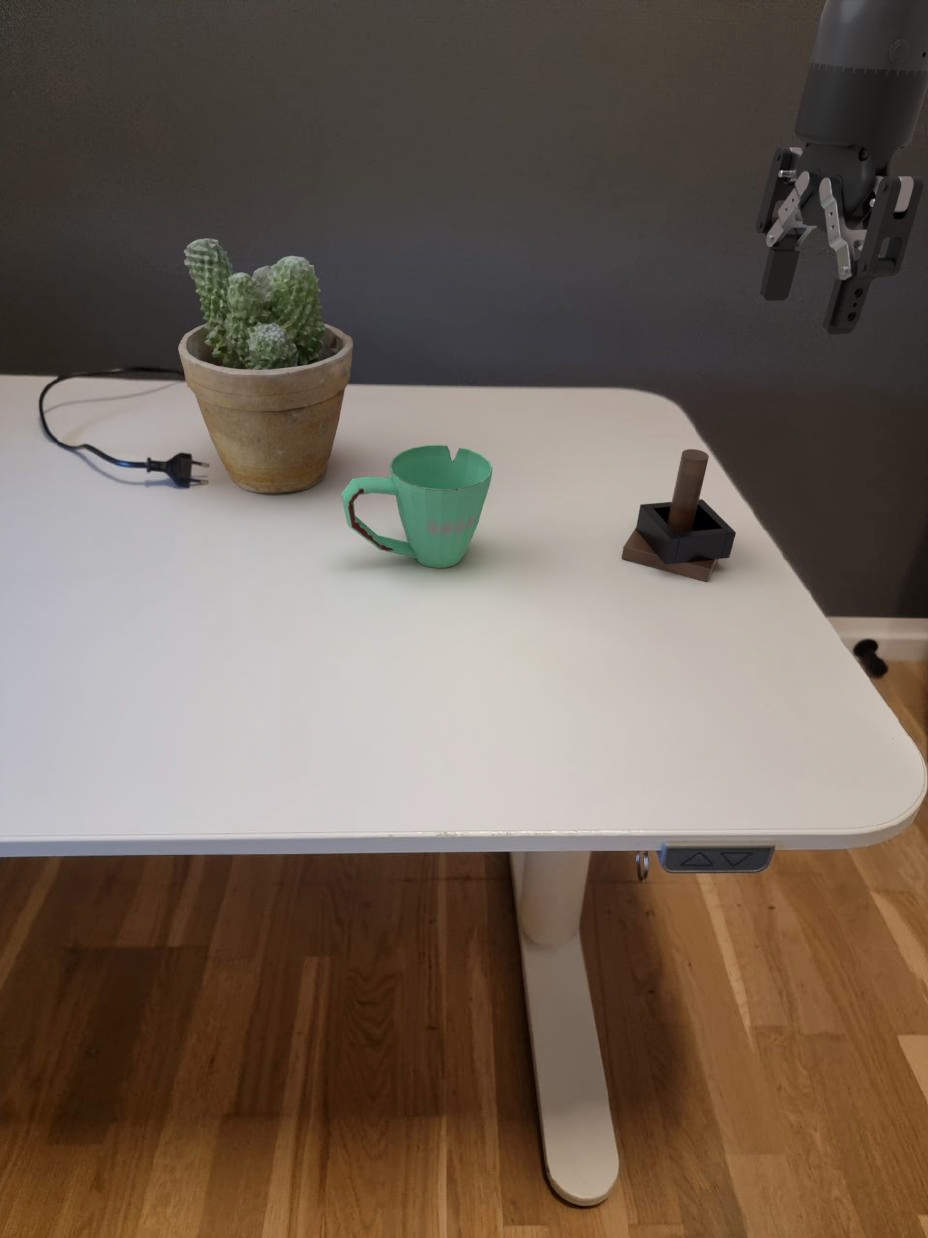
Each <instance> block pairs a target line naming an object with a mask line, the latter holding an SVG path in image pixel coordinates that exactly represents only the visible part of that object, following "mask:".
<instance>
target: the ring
mask: <svg viewBox="0 0 928 1238" xmlns="http://www.w3.org/2000/svg"><path fill="white" fill-rule="evenodd" d="M671 503H672V501H665V502H653V503H643V504H640V505H639V509H638V515H637V520H636V527H635V528H636V530H637V531H638V533H639V534H640V535H641V536H642V537H643V539H644V540H645V541H646V542H647V543H648V545H649V546H650V547H651V548H652V549H653V551H654V552H655V553H656V554H657V555H658V557H659V558H660V559H661V560H662V561H663V563H664V564H665V565H667V564H677V563H686V562H695V561H705V560H714V559H718V560H721V559H730V558H731V557H730V556H731V553H732V550H733V546H734V541H735V539H736V538H735V537H736V535H737V532H736V531H735V530H734V528H732V527H731V526H730V525H729V524H728V522H726V521H725V520H724V519H723V518H722V517H721V516H720V515H719V514H718V513H717V512H716V511H715V510H714V509H713V508H712V507H711V506H710V505H709V504H708V503H707V502H706V501H705V500H704V499H702V498H699V502H698V506H697V511H696V515H695V519H694V524H693V529H694V530H695V531H693V532H682V533H675V532H674V531H673V530H672V529H671V528H670V527H669V526H668V525H667V522H668V517H669V513H670V508H671Z"/></svg>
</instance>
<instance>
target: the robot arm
mask: <svg viewBox="0 0 928 1238" xmlns="http://www.w3.org/2000/svg"><path fill="white" fill-rule="evenodd" d="M927 90H928V0H826V1H825V3H824V6H823V9H822V11H821V16H820V19H819V23H818V27H817V32H816V36H815V41H814V44H813V48H812V53H811V57H810V61H809V66H808V70H807V73H806V78H805V82H804V87H803V90H802V95H801V100H800V104H799V108H798V112H797V117H796V121H795V125H794V135H795V137H796V138H797V139H799V140H800V141H803V142H805V146H804V147H789V146H788V147H778V148H776V149H775V151H774V153H773V157H772V160H771V165H770V168H769V172H768V176H767V180H766V183H765V186H764V187H765V188H764V191H763V195H762V199H761V203H760V207H759V210H758V214H757V219H756V223H755V231H756V233H757V234H764V235H765V244H766V246H767V247H768V248H769V249H768V253H767V258H766V262H765V266H764V271H763V274H762V279H761V287H760V291H759V296H760V298H761V299H763V300H764V301H767V302H775V301H776V302H777V301H778V302H779V301H781V302H782V301H785V300H786V299H788V298H789V296H790V293H791V289H792V285H793V280H794V277H795V273H796V270H797V265H798V261H799V257H800V254H801V250H799V249H797V248H796V247H800V246H801V244H802V243H803V242H804V241H805V239H806V238H807V237H808V235H810V233H811V232H812V231H813V230H814V229H818V230H819V231H820V232H822V233H825V234H827V235H826V236H827V242H828V245H829V247H830V248H831V249H833V250H834V251H835V256H836V263H837V271H838V277H836V278H835V279H834V282H833V287H832V290H831V293H830V297H829V301H828V304H827V308H826V311H825V315H824V318H823V322H822V326H821V328H822V331H823V332H825V333H827V334H829V335H849V334H850V333H852V332H853V331H854V329H855V328H856V327H857V325H858V323H859V321H860V318H861V315H862V312H863V309H864V305H865V302H866V299H867V296H868V292H869V289H870V286H871V284H872V282H873V281H874V280H875V279H879V278H884V277H885V278H886V277H895V276H897V275H898V274H899V273H900V270H901V268H902V264H903V261H904V257H905V253H906V250H907V247H908V243H909V239H910V237H911V234H912V233H911V232H912V229H913V225H914V221H915V218H916V216H917V211H918V208H919V204H920V201H921V198H922V194H923V190H924V186H925V183H924V178H923V177H922V176H909V175H908V176H905V175H902V176H897V175H893V176H892V164H893V158H894V155H895V154H896V153H897V151H899V150H901V149H903V148H905V147H907V146H909V144H910V143H911V141H912V139H913V136H914V132H915V129H916V126H917V122H918V120H919V116H920V113H921V109H922V106H923V103H924V100H925V97H926V93H927ZM780 201H783V203H782V205H781V206H780V207H779V208H778V209H777V211H776V214H777V215H776V216H773V215H774V212H775V208H776V204H777V203H778V202H780ZM860 225H862V229H857V228H859V227H860ZM886 238H889V240H888V244H887V248H886V252H885V255H884V256H880V253H881V249H882V245H883V242H884V240H885V239H886ZM855 249H857V250H859V252H860V253H859V254H860V255H859V259H856V255H855Z"/></svg>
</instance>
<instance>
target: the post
mask: <svg viewBox="0 0 928 1238" xmlns="http://www.w3.org/2000/svg"><path fill="white" fill-rule="evenodd" d="M709 457H710V456H709V454H708V453H707V452H705V451H703V450H700V449H694V448H688V449H684V450H683V451H682V452H681V456H680V461H679V464H678V465H679V466H678V471H677V474H676V480H675V485H674V489H673V495H672V498H671V502H672V503H671V508H670V513H669V517H668V522H667V525H668V526H669V527H670V528H671V529H672V530H673V531H674V532H675V533H682V532H693V531H695V530H694V529H693V524H694V519H695V515H696V511H697V506H698V502H699V499H701V498H700V497H701V494H702V488H703V483H704V479H705V476H706V471H707V466H708V462H709ZM621 559H622V560H625V561H629V562H631V563H632V562H633V563H635V564H639V565H643V566H647V567H650V568H654V569H658V570H662V571H665V572H670V573H672V574H676V575H680V576H684V577H688V578H692V579H695V580H700V581H703V582H707V583H708V582H709V580H710V578H711V575H712V573H713V571H714V569H715V566H716V565H717V562H718V560H719V559H714V560H705V561H695V562H686V563H677V564H667V565H665V564H664V563H663V561H662V560H661V559H660V558H659V557H658V555H657V554H656V553H655V552H654V551H653V549H652V548H651V547H650V546H649V545H648V543H647V542H646V541H645V540H644V539H643V537H642V536H641V535H640V534H639V533H638V531H637V530H636V527H635V528H634V530H633V531H632V533H631V534H630V535H629V537H628V539H627V540H626V542H625V544H624V545H623V548H622V553H621Z"/></svg>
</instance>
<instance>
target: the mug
mask: <svg viewBox="0 0 928 1238" xmlns="http://www.w3.org/2000/svg"><path fill="white" fill-rule="evenodd" d="M389 476H390V477H381V476H380V477H379V476H363V477H353V478H352V479H351V480H350V481H349V483H348V485H346V487H344V489H343V490H342V492H341V493H340V495H341V500H342V505H343V509H344V514H345V518H346V519H345V520H346V525H347V526H348V528H350V529H351V530H352V531H354V532H355V533H357V534H358V535H359V536H360V537H362V538H363V539H365V540H366V541H367V542H369V544H371V545H372V546H374V547H375V548H376V549H378V550H379V551H384V552H387V553H392V554H397V555H400V556H406V557H408V558H412V559H413V558H414V559H415V560H416V561H417V562H418V563H419V564H421V565H422V566H425V567H429V568H433V569H448V568H451V567H454V566H455V565H457V564H459V563H460V562H461V561H462V559H463V557H464V555H465V554H466V551H467V550H468V548H469V546H470V545H471V542H472V540H473V537H474V535H475V532H476V529H477V527H478V525H479V522H480V519H481V516H482V511H483V508H484V504H485V501H486V498H487V495H488V493H489V489H490V485H491V481H492V476H493V466H492V464H491V461H489V460H488V459H487V458H486V457H484V456H483V455H482V454H481V453H479V452H477V451H474V450H472V449H469V448H464V447H459V448H458V450H457V452H456V454H455V457H454V459H452V457H451V451H450V449H449V446H448V445H447V444H428V445H427V444H426V445H420V446H416V447H415V446H414V447H411V448H409V449H405V450H403V451H400V452H399V453H398V454H396V455H395V456H394V457H393V458H392V459H391V462H390V464H389ZM369 494H380V495H381V494H382V495H390V496H395V498H396V504H397V510H398V515H399V519H400V522H401V526H402V529H403V531H404V534H405V537H406V539H407V541H404V540H400V539H396V538H391V537H387V536H384V535H379V534H377V533H376V531H374V530H372V529H371V528H370V527H369V526H368V525H367V524H366V523H365V522H364V521H362V520H361V519H360V518H359V517H357V516H356V511H355V501H356V499H358V497H359V496H362V495H369Z"/></svg>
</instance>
